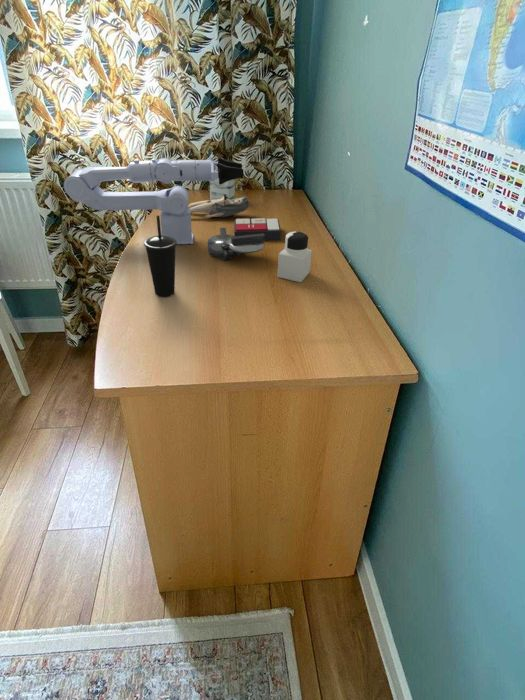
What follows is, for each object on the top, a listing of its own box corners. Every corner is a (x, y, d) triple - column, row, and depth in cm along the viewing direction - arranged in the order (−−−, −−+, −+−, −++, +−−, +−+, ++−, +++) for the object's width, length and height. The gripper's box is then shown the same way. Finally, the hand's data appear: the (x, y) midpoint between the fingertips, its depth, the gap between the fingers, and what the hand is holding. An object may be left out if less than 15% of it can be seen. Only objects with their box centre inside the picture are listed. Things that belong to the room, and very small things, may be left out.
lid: (227, 255, 127) (227, 246, 126) (216, 241, 135) (215, 232, 134) (271, 250, 132) (271, 241, 130) (257, 236, 140) (257, 227, 138)
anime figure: (163, 199, 163) (246, 188, 165) (168, 218, 168) (248, 208, 169) (162, 207, 156) (249, 196, 157) (166, 228, 160) (251, 217, 161)
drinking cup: (154, 302, 112) (146, 223, 100) (146, 288, 117) (136, 212, 106) (184, 296, 115) (179, 219, 103) (174, 283, 120) (168, 208, 109)
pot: (208, 261, 133) (208, 249, 131) (207, 237, 147) (207, 227, 145) (242, 260, 134) (242, 249, 132) (238, 237, 148) (238, 227, 146)
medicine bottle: (309, 273, 129) (314, 232, 122) (300, 283, 124) (305, 241, 117) (286, 267, 132) (289, 227, 125) (276, 277, 126) (279, 235, 119)
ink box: (235, 202, 178) (235, 170, 171) (229, 205, 174) (229, 173, 167) (215, 198, 180) (215, 167, 174) (209, 202, 177) (208, 170, 170)
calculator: (234, 217, 154) (278, 216, 155) (235, 230, 157) (278, 228, 157) (234, 229, 145) (281, 228, 146) (234, 242, 148) (280, 241, 148)
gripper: (194, 160, 125) (243, 160, 126) (196, 151, 137) (241, 151, 138) (196, 187, 129) (244, 186, 130) (197, 176, 141) (241, 175, 142)
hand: (242, 170), depth 134 cm, fingers open, 7 cm apart
